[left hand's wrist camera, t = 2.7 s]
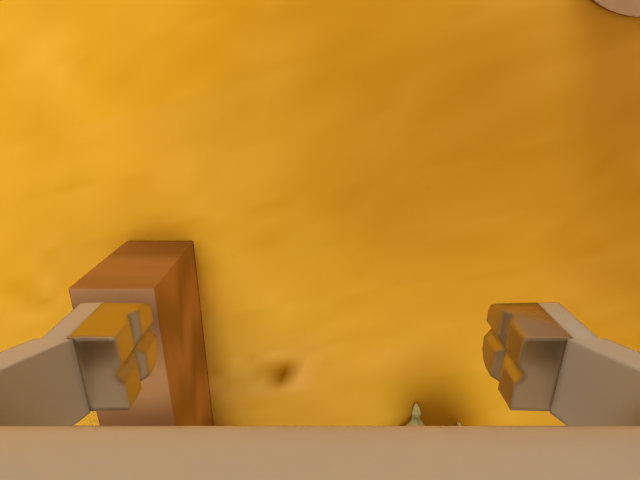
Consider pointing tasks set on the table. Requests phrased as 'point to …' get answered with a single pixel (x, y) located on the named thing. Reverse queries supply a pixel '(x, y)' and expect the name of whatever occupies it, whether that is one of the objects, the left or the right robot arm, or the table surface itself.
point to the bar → (158, 329)
